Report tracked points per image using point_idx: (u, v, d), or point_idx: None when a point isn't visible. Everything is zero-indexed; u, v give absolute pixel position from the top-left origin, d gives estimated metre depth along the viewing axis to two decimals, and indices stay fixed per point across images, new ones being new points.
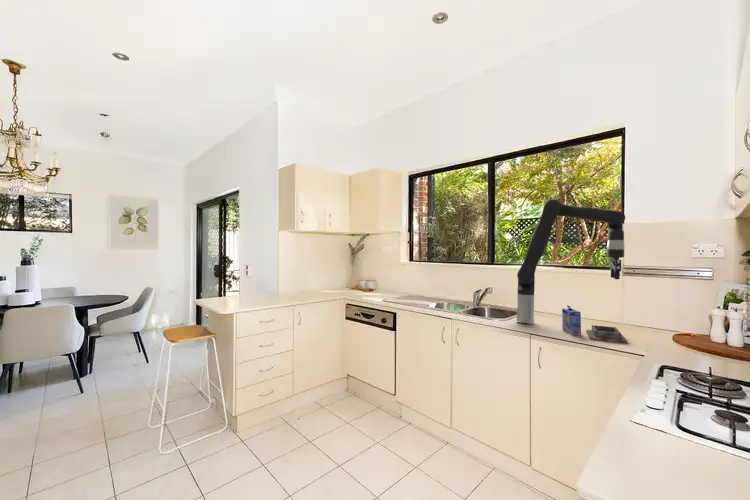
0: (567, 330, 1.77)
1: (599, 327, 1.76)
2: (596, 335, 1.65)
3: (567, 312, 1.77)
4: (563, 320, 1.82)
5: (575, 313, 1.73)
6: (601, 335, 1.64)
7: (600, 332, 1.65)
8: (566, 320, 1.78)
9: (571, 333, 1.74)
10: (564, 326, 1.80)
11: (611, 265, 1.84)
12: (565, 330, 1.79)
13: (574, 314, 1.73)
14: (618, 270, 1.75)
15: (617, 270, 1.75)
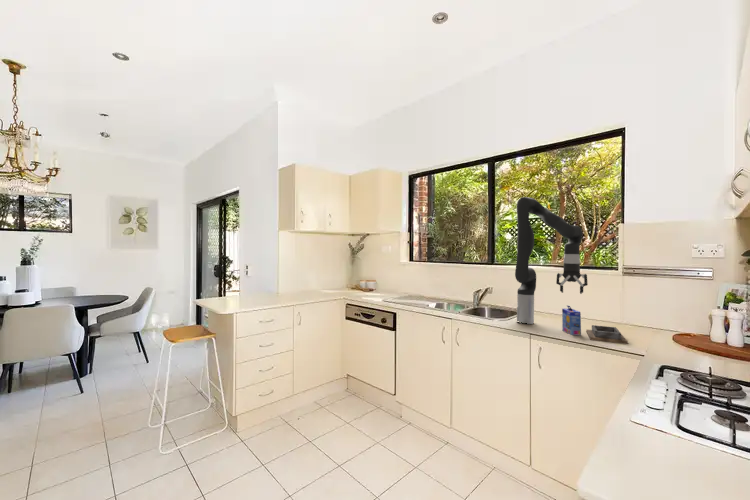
0: (567, 330, 1.77)
1: (599, 327, 1.76)
2: (596, 335, 1.65)
3: (567, 312, 1.77)
4: (563, 320, 1.82)
5: (575, 313, 1.73)
6: (601, 335, 1.64)
7: (600, 332, 1.65)
8: (566, 320, 1.78)
9: (571, 333, 1.74)
10: (564, 326, 1.80)
11: (567, 280, 1.78)
12: (565, 330, 1.79)
13: (574, 314, 1.73)
14: (587, 284, 1.75)
15: (587, 284, 1.75)
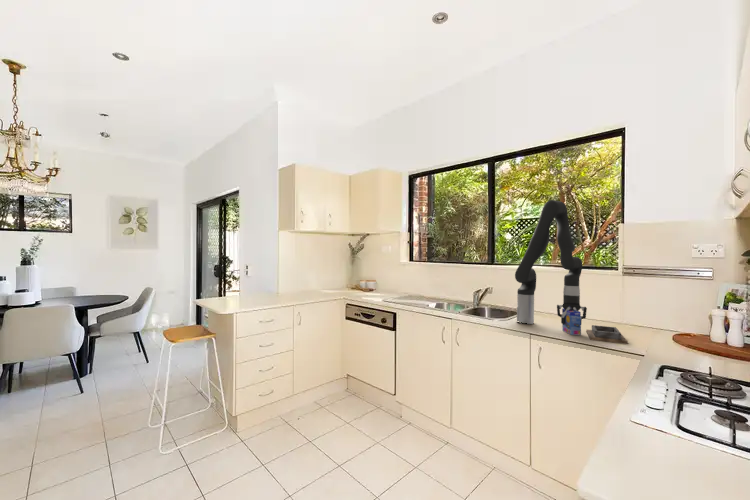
0: (567, 330, 1.77)
1: (599, 327, 1.76)
2: (596, 335, 1.65)
3: (567, 312, 1.77)
4: None
5: (575, 313, 1.73)
6: (601, 335, 1.64)
7: (600, 332, 1.65)
8: (566, 320, 1.78)
9: (571, 333, 1.74)
10: (564, 326, 1.80)
11: None
12: (565, 329, 1.79)
13: (574, 314, 1.73)
14: (585, 317, 1.75)
15: (585, 317, 1.75)
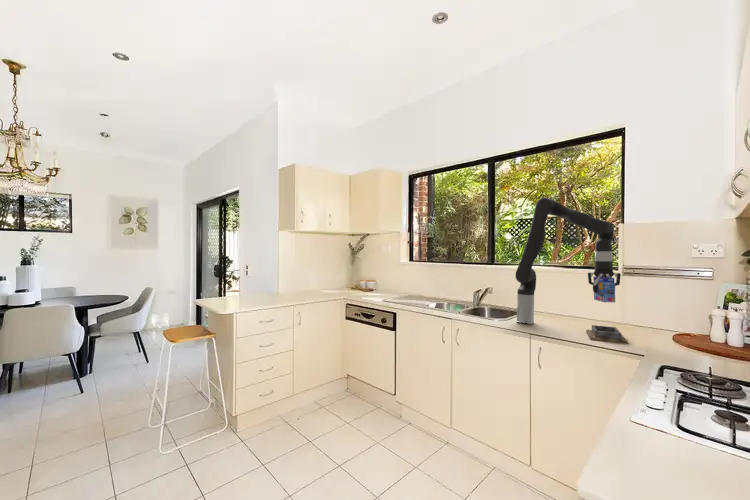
0: (599, 298, 1.69)
1: (599, 327, 1.76)
2: (596, 335, 1.65)
3: (599, 279, 1.68)
4: None
5: (609, 279, 1.65)
6: (601, 335, 1.64)
7: (600, 332, 1.65)
8: (599, 288, 1.69)
9: (605, 300, 1.65)
10: (596, 294, 1.72)
11: None
12: (597, 298, 1.71)
13: (607, 280, 1.65)
14: None
15: None
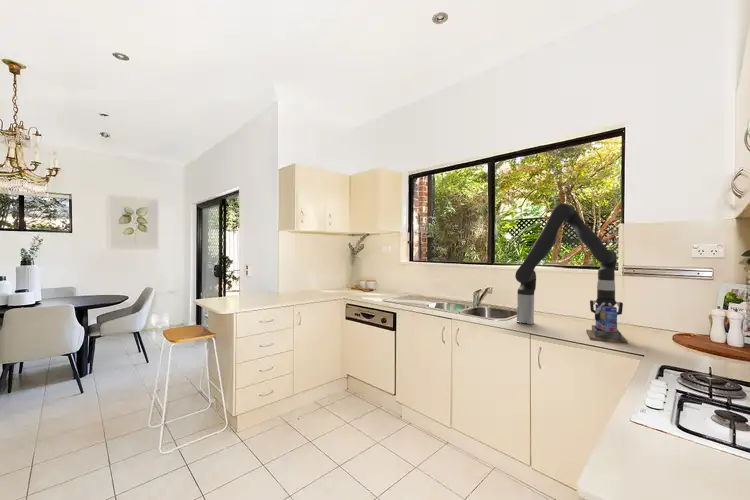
0: (601, 326, 1.69)
1: None
2: (596, 335, 1.65)
3: (602, 308, 1.68)
4: None
5: (611, 309, 1.65)
6: (601, 335, 1.64)
7: (600, 332, 1.65)
8: (601, 316, 1.69)
9: (607, 330, 1.65)
10: (598, 322, 1.72)
11: None
12: (599, 326, 1.70)
13: (609, 310, 1.65)
14: (621, 313, 1.67)
15: (621, 313, 1.66)
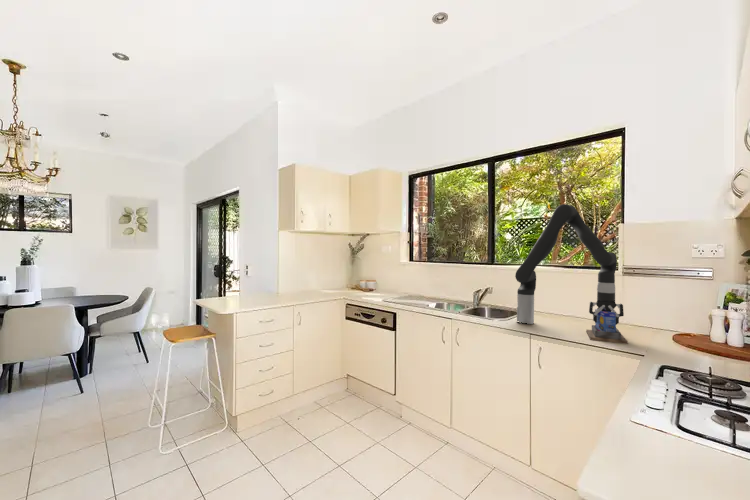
0: None
1: None
2: (596, 335, 1.65)
3: (601, 313, 1.68)
4: None
5: (610, 314, 1.65)
6: (601, 335, 1.64)
7: (600, 332, 1.65)
8: (600, 322, 1.69)
9: None
10: (597, 328, 1.72)
11: (601, 309, 1.69)
12: None
13: (608, 315, 1.65)
14: None
15: None
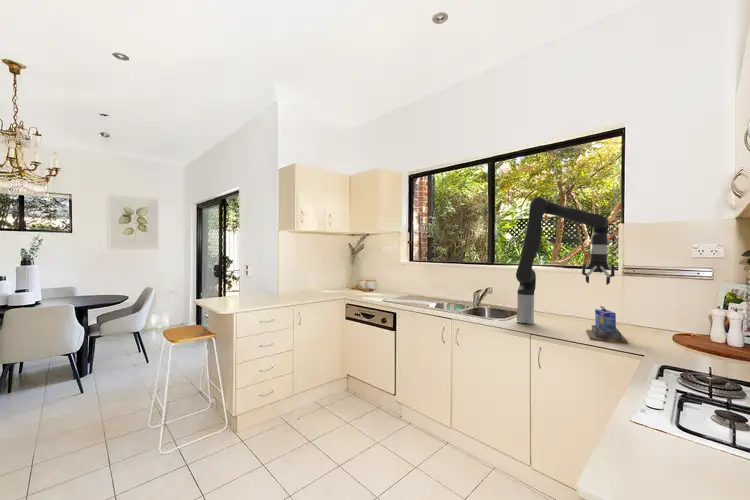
0: None
1: None
2: (596, 335, 1.65)
3: (601, 313, 1.68)
4: (596, 321, 1.73)
5: (610, 314, 1.65)
6: (601, 335, 1.64)
7: (600, 332, 1.65)
8: (600, 322, 1.69)
9: None
10: (597, 328, 1.72)
11: (593, 270, 1.77)
12: None
13: (608, 315, 1.65)
14: (614, 275, 1.74)
15: (614, 275, 1.74)
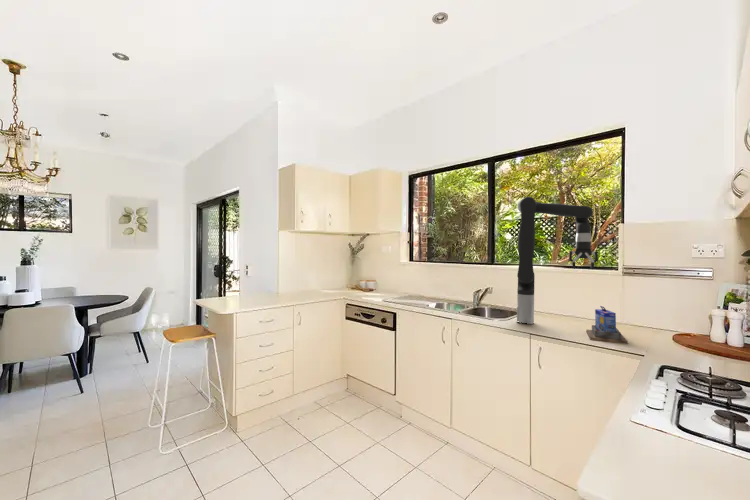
0: None
1: None
2: (596, 335, 1.65)
3: (601, 313, 1.68)
4: (596, 321, 1.73)
5: (610, 314, 1.65)
6: (601, 335, 1.64)
7: (600, 332, 1.65)
8: (600, 322, 1.69)
9: None
10: (597, 328, 1.72)
11: (579, 257, 1.95)
12: None
13: (608, 315, 1.65)
14: (597, 260, 1.92)
15: None
